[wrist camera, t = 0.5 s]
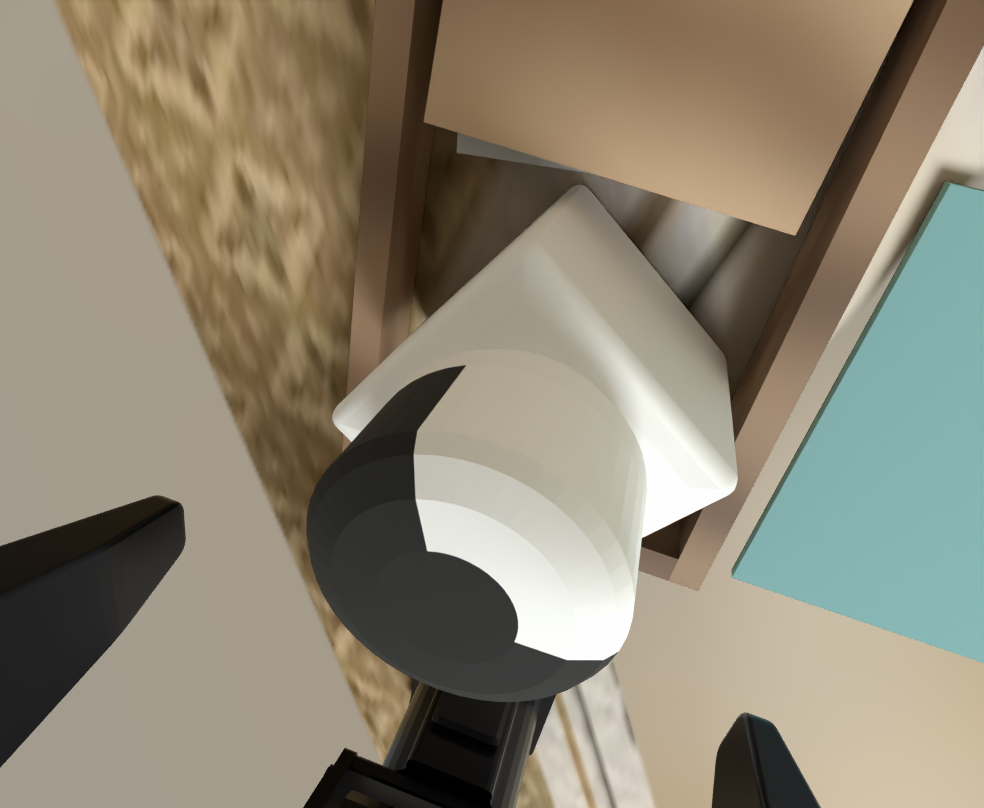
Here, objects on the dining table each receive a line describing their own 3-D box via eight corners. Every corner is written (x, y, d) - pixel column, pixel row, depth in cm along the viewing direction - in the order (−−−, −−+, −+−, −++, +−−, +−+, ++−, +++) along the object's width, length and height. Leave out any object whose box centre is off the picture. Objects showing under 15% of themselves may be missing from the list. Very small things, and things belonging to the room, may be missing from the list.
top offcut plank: (786, 221, 15) (795, 236, 14) (444, 117, 16) (423, 121, 15) (911, -33, 13) (935, -43, 11) (489, -138, 14) (468, -158, 12)
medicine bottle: (558, 465, 23) (450, 785, 13) (425, 320, 22) (189, 548, 12) (730, 358, 19) (767, 686, 9) (582, 176, 18) (437, 327, 8)
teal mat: (991, 657, 22) (996, 667, 21) (731, 569, 23) (731, 577, 23) (1356, 278, 14) (1371, 283, 14) (945, 181, 16) (951, 184, 15)
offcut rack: (698, 541, 23) (698, 591, 21) (371, 432, 25) (340, 468, 23) (1040, -153, 13) (1108, -194, 11) (441, -248, 15) (397, -299, 12)
